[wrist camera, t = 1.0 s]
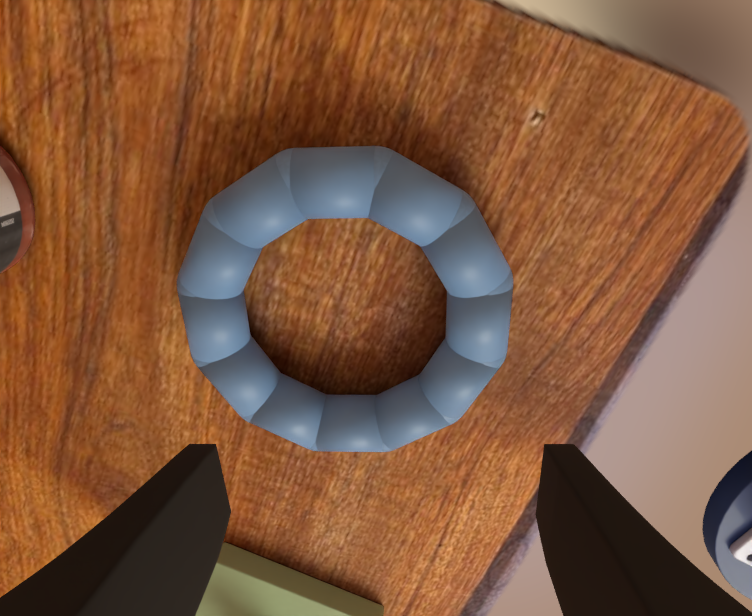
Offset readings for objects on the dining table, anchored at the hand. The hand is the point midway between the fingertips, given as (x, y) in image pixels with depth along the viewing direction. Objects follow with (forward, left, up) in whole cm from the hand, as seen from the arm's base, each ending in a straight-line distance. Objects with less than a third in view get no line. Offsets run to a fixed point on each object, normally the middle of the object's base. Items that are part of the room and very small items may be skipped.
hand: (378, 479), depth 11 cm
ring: (+2, 0, -8) cm, 8 cm away
